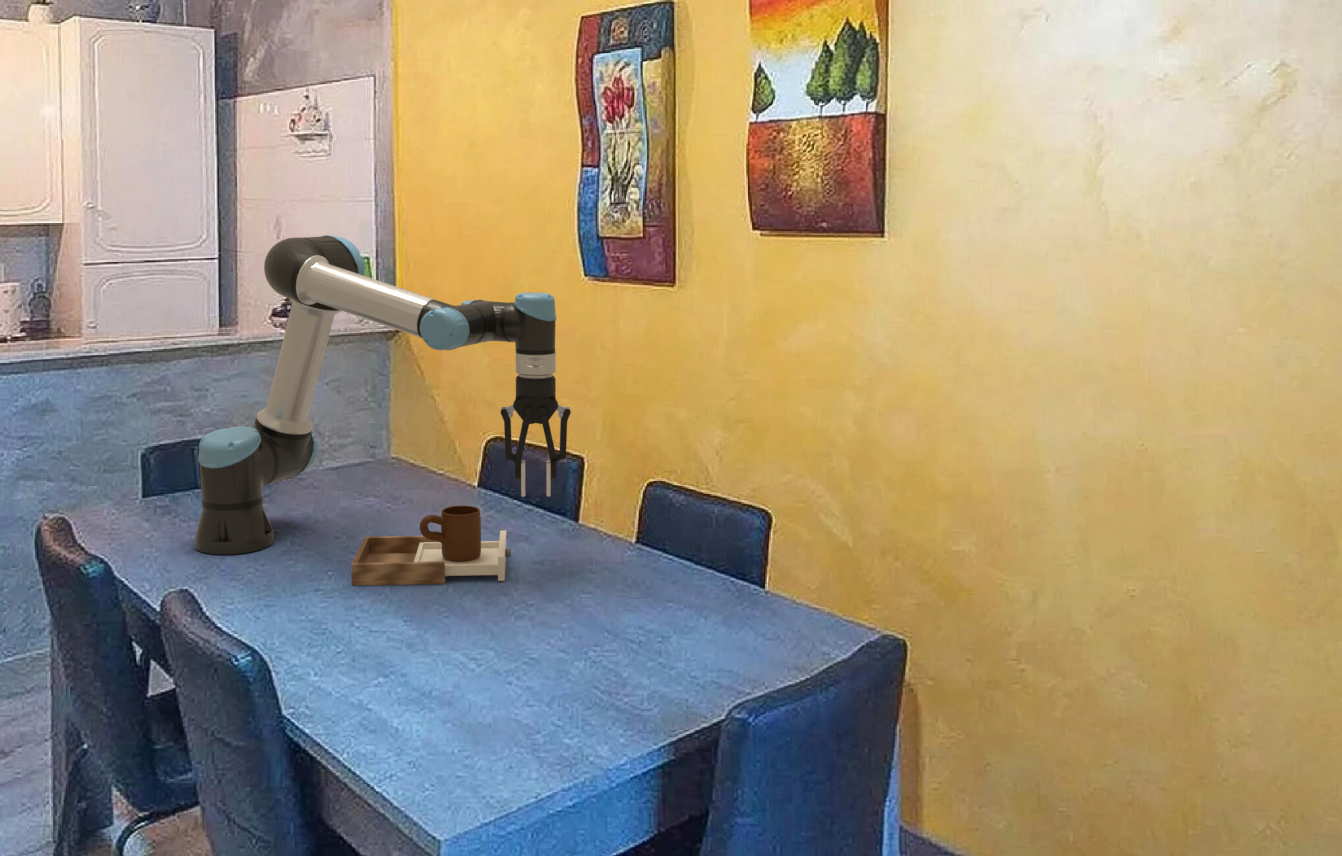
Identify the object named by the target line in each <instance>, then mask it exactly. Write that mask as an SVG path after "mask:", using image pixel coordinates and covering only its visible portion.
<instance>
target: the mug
mask: <svg viewBox="0 0 1342 856" xmlns="http://www.w3.org/2000/svg"><path fill="white" fill-rule="evenodd" d="M481 519H482V517H481V510H480V508H479V507H477V506H473V505H452V506H446V507H444V508H442V510H441V515H440V516H439V515H437V514H428V515H426V516H424V517H423V518H422V519H421V520H420V524H419V530H420V533H421V536H424V537H425V538H426V539H429V540H437V541H439V542H440V543H442V556H443V558H445V559H446V560H449V561H454V562H465V561H471V560H475V559H477V558H478V557H479V556H480V554H481V541H482V520H481ZM430 523H432V524H436V525H440V528H441V529H440V530H441V531H431V530H430V529H429V524H430Z"/></svg>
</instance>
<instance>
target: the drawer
mask: <svg viewBox="0 0 1342 856" xmlns="http://www.w3.org/2000/svg"><path fill="white" fill-rule="evenodd" d="M511 551H512V550H511V548H507V530H506V529H505V530H499V539H498V540H495V541H494V540H488V541H487V540H486V541H485V540H484V541H483V540H481V554H480V556H479V557H478V558H477V559H475V560H471V561H465V562H454V561H449V560H446V559H445V558H443V556H442V543H440V542H420V544H419V547H418V550H417V553H416V557H415V560H414V562H445V576H446V577H450V576H451V577H454V576H458V577H459V576H461V577H462V576H464V577H465V576H497V581H498V582H505V578H506V565H507V564H506V563H507V558H511V556H512V553H511Z"/></svg>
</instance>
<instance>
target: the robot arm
mask: <svg viewBox="0 0 1342 856" xmlns="http://www.w3.org/2000/svg"><path fill="white" fill-rule="evenodd" d="M365 268H366V267H365V261H364V259H363V256H362V255H361V253H360V250H359V249H358V247H357V246H356V245H355V244H354V243H353V242H351V241H350V240H349V239H347V238H345V237H342V236H334V235H333V236H332V235H330V234H329V235H322V236H309V237H308V236H306V237H288V238H285V239H283V240H280V241H278V242H277V243H275V244H274V245H273V246H272V247H271V248H270V249H269V251H268V253H267V254H266V256H265V259H264V265H263V269H264V271H263V272H264V276H265V278H266V282H267V283H268V285H269V286H270V288H272V290H273V291H274V292H275V293H277V294H279V295H281V296H283V298H284V297H285V298H287V299H289V300H290V302H291V307H290V311H289V316H288V319H287V324H286V328H285V331H284V335H283V339H282V344H281V348H280V351H279V355H278V359H277V363H276V368H275V371H274V375H273V380H272V383H271V388H270V392H269V395H268V399H267V400H268V401H267V403H266V407H265V408H263V409H261V410H259V411H258V412H257V414H256V418H255V420H254V425H253V427H251V426H245V425H244V426H242V425H241V426H239V425H238V426H237V425H236V426H230V427H228V428H226V427H224V428H220V429H217V430H213V431H211V432H209V433H206V434H205V435H204V436H203V437H202V438H201V439H200V441H199V445H198V446H199V447H198V448H199V449H198V450H199V452H198V458H197V459H198V463H199V466H198V467H199V476H200V491H201V506H202V507H201V509H202V510H201V513H200V517H199V520H198V524H197V528H196V531H195V535H194V545H195V546H194V547H195V549H196V551H198V552H201V553H206V554H211V555H237V554H239V555H240V554H247V553H251V552H252V553H253V552H256V551H261V550H263V549H267V548H269V547H270V546H272V545H273V544H274V541H275V537H274V536H275V535H274V529H273V527H272V523H271V522H270V519H269V517H268V515H267V514H268V513H267V511H266V509H265V506H264V498H263V495H264V493H263V487H264V486H267V485H271V484H274V483H275V484H276V483H277V482H280V481H284V480H289V479H292V478H295V477H297V476H299V475H300V474H303V473H305V472H306V471H307V470H308V469H310V467H311V466H312V465H313V464H314V462H315V460H316V459H317V458H316V457H317V455H318V449H319V448H318V441H317V440H316V438H315V437H316V433H315V431H314V430H313V428H314V425H313V423H312V421H311V419H310V418H309V414H310V410H311V407H312V403H313V399H314V397H315V396H314V395H315V391H316V387H317V384H318V381H319V376H320V374H321V373H320V372H321V368H322V366H323V361H324V357H325V353H326V350H327V346H328V342H329V339H330V334H331V331H332V328H333V324H334V320H335V316H336V314H339V313H341V312H343V313H347V314H350V315H353V316H356V317H359V318H362V319H365V320H367V321H370V322H373V323H376V324H380V325H382V326H385V327H387V328H392V329H394V330H398V331H400V332H403V333H406V334H409V335H412V336H414V337H417V338H420V339H422V340H423V342H424V343H425V345H427V346H428V347H429V348H430V349H433V350H435V351H436V350H437V351H453V350H456V349H458V348H463V347H467V346H471V345H477V344H481V343H488V342H504V343H505V342H506V343H515V345H514V346H515V373H516V374H518V375H517V376H516V377H515V400H514V401H513V404H512V405H508V406H503V407H501V408H500V416H501V417H502V420H503V426H504V427H503V428H504V449H505V450H504V452H505V453H504V454H505V459H506V460H510V461H512V462H513V463H514V477H515V479H516V480H518V479H519V480H520V482H521V485H520V486H521V487H520V489H521V493H520V494H521V495H520V496H521V497H522V498H523V497H526V459H525V460H523V455H524V454H523V453H524V451H525V445H526V440H527V436H528V431H529V427H530V425H533V424H539V425H542V429H543V433H544V437H545V441H546V442H545V443H546V447H547V452H548V455H549V460H545V462H546V474H545V475H546V485H545V486H546V497H551V491H552V490H551V487H552V486H551V484H552V482H551V479H556V478H557V475H558V474H557V471H558V470H557V469H558V468H557V464H558V462H559V461H561V460H565V459H567V441H568V439H567V437H568V420H569V418H570V415H571V413H572V411H571V408H570V407H569V406H563V405H561V404H559V403H558V400H557V398H556V396H557V395H556V389H557V388H556V384H557V383H556V380H557V379H556V377H555V375H554V374H555V373H557V372H556V364H557V362H556V360H557V359H556V358H557V357H556V356H557V355H556V321H557V315H556V300H555V297H554V296H553V295H552V294H551V293H548V292H532V291H531V292H520V293H517V294H516V295H515V297H514V302H506V301H505V302H504V301H493V300H492V301H491V300H484V299H477V300H476V299H474V300H471V299H470V300H469V299H468V300H465V301H463V302H461V304H460V305H453V304H449V303H446V302H443V301H441V300H437V299H435V298H432V297H429V296H426V295H423V294H420V293H417V292H414V291H410V290H409V289H408V290H407V289H404V288H402V287H399V286H396V285H392V284H389V283H387V282H384V281H380V280H378V279H374V278H372V277H369V276H365V275H366V274H365V273H366V269H365ZM514 412H516V413H517V415H518V416H519V418H521V420H522V423H521V428H520V433H519V438H518V443H517V447H516V452H513V442H512V441H513V440H512V421H511V419H512V418H513V416H514ZM556 412H558V413H557V415H558V417H559V418H560V421H559V422H560V426H559V427H560V429H559V452H556V449H555V445H554V440H553V435H552V432H551V431H552V430H551V425H550V422H549V420H550V419H551V418H552V417H553V415H554V414H555V413H556Z"/></svg>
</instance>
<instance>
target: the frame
mask: <svg viewBox="0 0 1342 856" xmlns="http://www.w3.org/2000/svg"><path fill="white" fill-rule="evenodd" d="M420 542H439V541H437V540H429V539H426V538H425V537H424V536H423V535H393V536H392V535H387V536H384V535H383V536H381V535H380V536H378V535H377V536H374V535H371V536H364V537H363V539H362V541H361V544H360V545H359V547H358V549H357V552H356V554H355V556H354V558H353V560H352V562H351V565H350V566H351V567H350V568H351V569H350V570H351V571H350V572H351V574H350V575H351V586H391V585H392V586H394V585H395V586H397V585H398V586H399V585H405V586H406V585H443V584H444V585H446V580H447V576H445V562H414V560H415V557H416V553H417V550H418V547H419V544H420Z"/></svg>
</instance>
